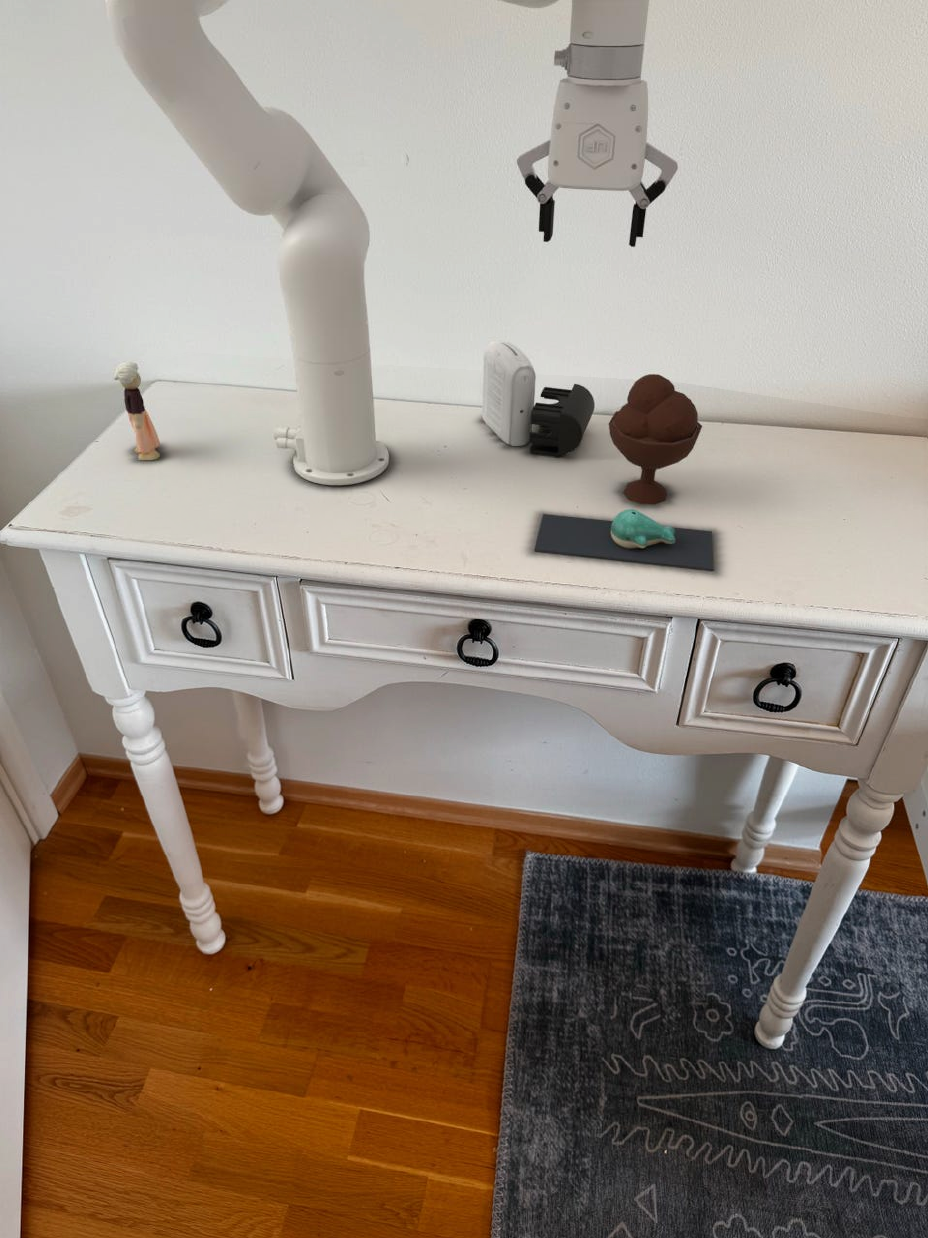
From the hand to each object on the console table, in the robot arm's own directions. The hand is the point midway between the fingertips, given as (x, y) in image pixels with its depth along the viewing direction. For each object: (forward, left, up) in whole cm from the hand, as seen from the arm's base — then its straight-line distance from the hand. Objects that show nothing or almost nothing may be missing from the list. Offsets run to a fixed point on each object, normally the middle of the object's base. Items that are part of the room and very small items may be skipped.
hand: (590, 241), depth 101 cm
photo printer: (-10, +8, -28) cm, 31 cm away
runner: (+8, -18, -28) cm, 34 cm away
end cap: (-2, +6, -28) cm, 29 cm away
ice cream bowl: (+10, -6, -28) cm, 31 cm away
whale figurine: (+10, -18, -28) cm, 35 cm away
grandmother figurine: (-57, -8, -28) cm, 64 cm away
